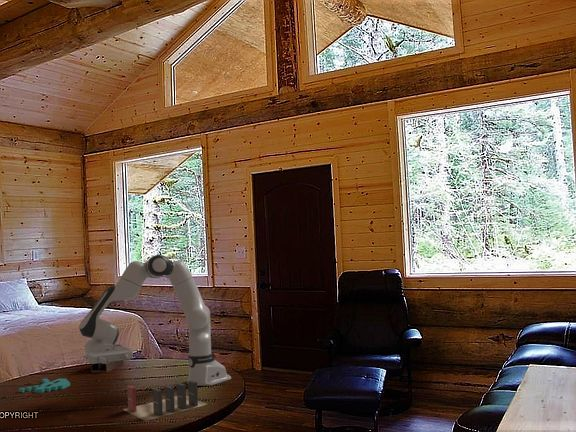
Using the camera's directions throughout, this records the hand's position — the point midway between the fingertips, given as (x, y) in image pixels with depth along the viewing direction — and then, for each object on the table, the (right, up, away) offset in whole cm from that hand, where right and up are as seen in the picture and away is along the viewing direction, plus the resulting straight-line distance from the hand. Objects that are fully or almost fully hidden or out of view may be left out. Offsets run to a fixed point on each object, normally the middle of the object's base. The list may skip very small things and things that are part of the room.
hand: (117, 359), depth 243 cm
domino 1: (+23, -18, -18) cm, 34 cm away
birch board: (+24, -19, -8) cm, 31 cm away
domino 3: (+31, -17, -11) cm, 37 cm away
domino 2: (+27, -18, -15) cm, 35 cm away
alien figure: (-47, -25, +39) cm, 66 cm away
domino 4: (+35, -17, -8) cm, 40 cm away
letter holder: (-29, -25, +76) cm, 86 cm away
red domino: (+10, -18, -12) cm, 24 cm away
